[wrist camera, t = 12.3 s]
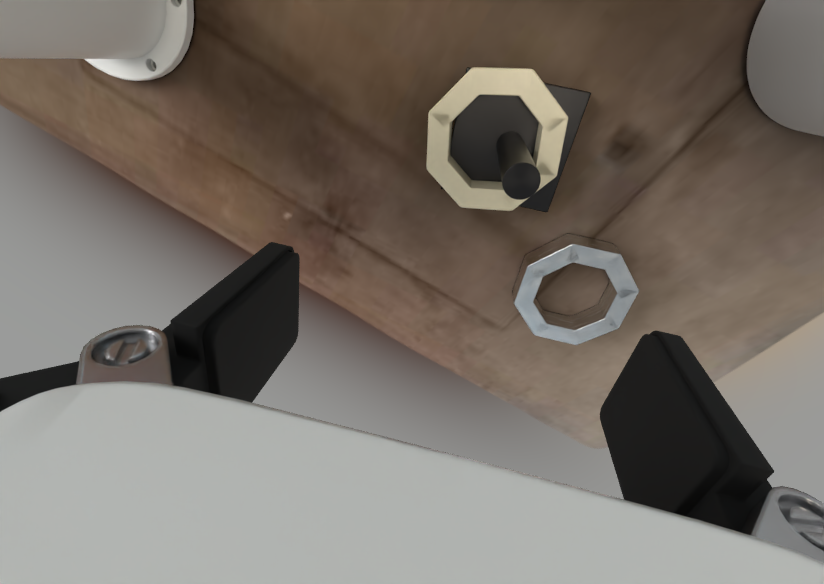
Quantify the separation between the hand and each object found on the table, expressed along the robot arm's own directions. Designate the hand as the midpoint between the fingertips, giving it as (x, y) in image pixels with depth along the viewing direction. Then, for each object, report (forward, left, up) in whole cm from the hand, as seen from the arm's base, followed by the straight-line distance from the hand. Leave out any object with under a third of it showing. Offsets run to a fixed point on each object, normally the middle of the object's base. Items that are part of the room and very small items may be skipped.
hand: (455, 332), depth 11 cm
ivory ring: (+1, +1, -24) cm, 24 cm away
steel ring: (+11, -10, -25) cm, 29 cm away
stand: (+2, +1, -25) cm, 26 cm away
